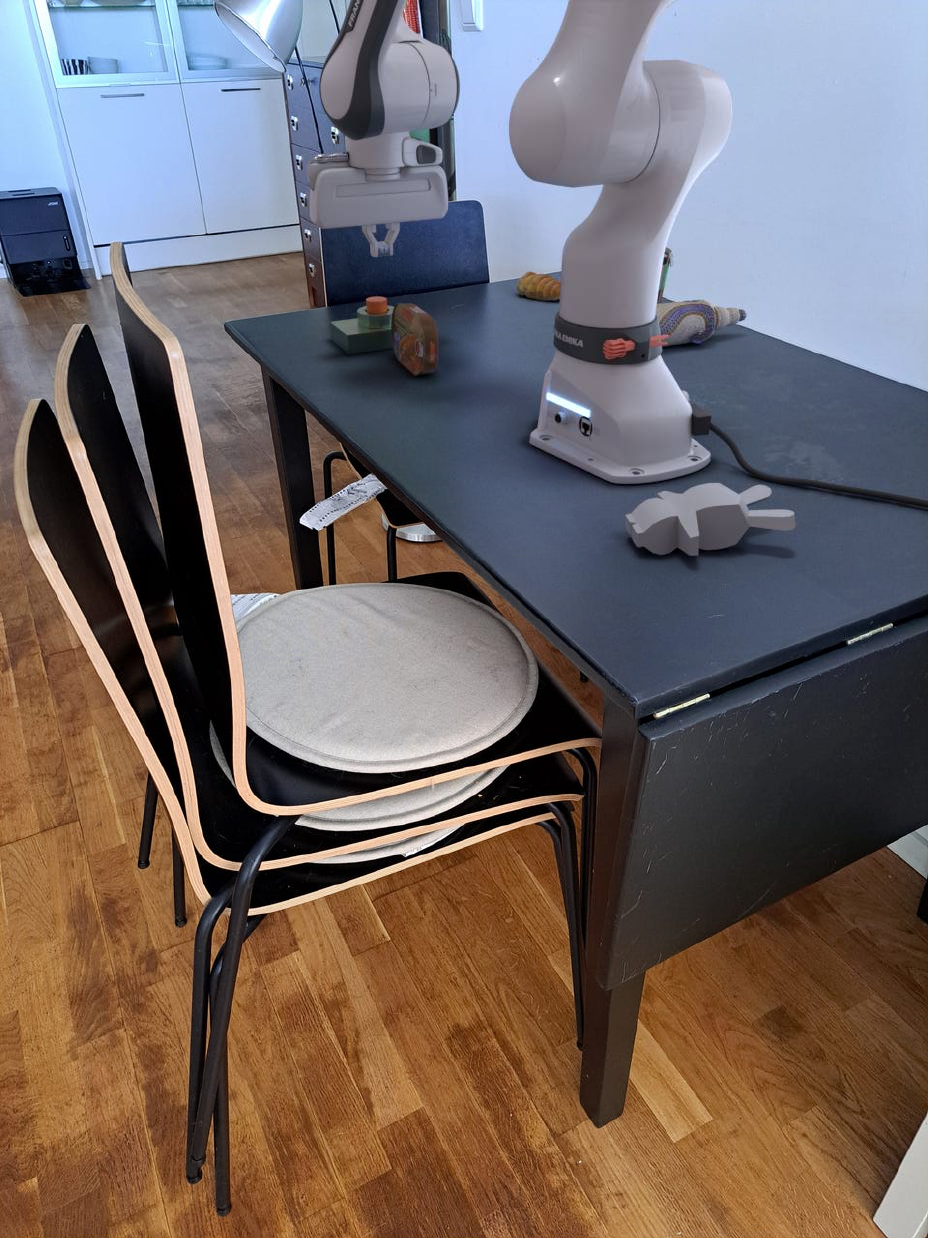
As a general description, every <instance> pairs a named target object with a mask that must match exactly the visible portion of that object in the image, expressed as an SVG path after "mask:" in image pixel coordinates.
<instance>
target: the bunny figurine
mask: <svg viewBox="0 0 928 1238" xmlns="http://www.w3.org/2000/svg"><path fill="white" fill-rule="evenodd" d="M772 492H773V491H772V488H771V487H769V486H767V485H765V484H756V485H753V486H751V487H749V488H747V489H746V490H743V491H742V492H739V493H738V492H735V491H734V490H732V489H730V487H727V486H725V484H722V483H720V482H709V483H702V484H698V485H695V486H692V487H690V488H688V489H686V490H685V491H684V492H683V493H677V492H672V491H668V490H663V491H660V492H657V496H656V497H652V498H647V499H645V500H644V501H642V502H641V503H640V504H638V505H637V507H635V508H634V510H633V511H632V512H631V513H627V514H625V516H624V521H625V523H624V524H625V525H624V526H625V530H626V532H627V533H628V535H629V536H630V537H632V541H633V543H634V545H635V546H636V548H642V547H644V548H645V549H646V550H648V551H649V552H651V553H652V554H655V555H659V556H663V555H668V554H671V552H673V551H674V550H676V549H677V548H678V549H679V550H681V551H682V552H684V553H685V554H687V555H688V556H690V557H692V556H693V557H695V556H696V557H697V556H698V557H699V554H700V553H699V549H700V550H704V551H713V550H715V551H717V550H720V549H725V548H729V547H732V546H735V545H737V544H738V542H739V541H740V540H741V539H742V538H743V536H744V535H745V533H746V532H747V531H748V530H749V529H750V527H751V528H758V529H766V530H775V531H783V532H785V531H786V532H787V531H792V530H794V529H795V528H796V516H795V512H794V511H793V510H790V509H782V508H781V509H779V508H777V509H749V507H751V506H753V505H756V504H759V503H761V502H764V501H767V500H769V499H770V498H771V495H772Z"/></svg>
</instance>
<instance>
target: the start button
mask: <svg viewBox="0 0 928 1238" xmlns="http://www.w3.org/2000/svg"><path fill="white" fill-rule="evenodd" d="M365 303H366V305H365V306H367V312H368V313H385V312H387V305H388V298H387V297H384V296H369V297H367V298H366V299H365Z"/></svg>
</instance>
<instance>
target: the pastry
mask: <svg viewBox="0 0 928 1238" xmlns="http://www.w3.org/2000/svg"><path fill="white" fill-rule="evenodd" d="M560 287H561V281H559V280H558V279H557V278H556V279H555V278H553V277H552V275H549V274H545V273H537V272H534V271H527V272H525V273H524V274H523V275H521V277H520V278H519V280H518V283H517V285H516V291H518V293H519V294H520V295H521V296H526V297H527V298H530V299H535V300H537V301H538V300H540V301H544V302H546V301H557V300H560Z"/></svg>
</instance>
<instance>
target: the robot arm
mask: <svg viewBox="0 0 928 1238" xmlns="http://www.w3.org/2000/svg"><path fill="white" fill-rule="evenodd" d="M677 1H678V0H568V2H567V6H566V8H565V13H564V16H563V18H562V21H561V24H560V26H559V29H558V31H557V34H556V36H555V38H554V40H553V43H552V44H551V46H550V48H549V50H548V52H547V53H546V55H545V57H544V59H543V60H542V61H541V63H540V64H539V65H538V66H537V68H536V69H535V70H534V71H533V72H531V74H530V75H529V76H528V77H527V78H526V79H525V80H524V81H523V82H522V84H521V86H520V87H519V89H518V91H517V92H516V95H515V97H514V99H513V102H512V105H511V108H510V113H509V120H508V138H509V143H510V144H509V145H510V148H511V151H512V155H513V157H514V159H515V161H516V164H517V165H518V167H519V168H520V170H521V171H522V173H523V174H524V175H525V176H526V177H527V178H528V179H530V180H531V181H533V182H536V183H540V184H541V183H542V184H547V185H552V186H559V187H563V188H564V187H565V188H573V189H574V188H575V189H576V188H584V187H594V186H602V188H601V191H600V194H599V196H598V198H597V201H596V202H595V204H594V206H593V208H592V210H591V211H590V213H589V214H588V216H587V217H586V218H585V219H584V220H583V221H582V222H581V223H580V224H577V226H576V227H575V228H574V229H573V230H572V231H571V232H570V233H569V235H568V236H567V238H566V240H565V242H564V245H563V248H562V253H561V254H562V256H561V271H560V283H561V287H560V298H559V308H558V309H559V310H558V311H557V312H556V313H555V315H554V324H553V329H552V333H553V341H552V344H553V346H554V348H555V352H554V355H553V358H552V360H551V362H550V364H549V366H548V368H547V370H546V372H545V374H544V378H543V384H542V392H541V398H540V407H539V413H538V414H539V415H538V423H537V427H536V428H534V430H532V431H531V432H530V435H529V441H528V442H529V444H530V445H532V446H534V447H535V448H538V449H540V450H542V451H544V452H546V453H548V454H550V455H553V456H554V457H556V458H558V459H560V460H563V461H565V462H567V463H569V464H571V465H573V466H575V467H578V468H580V469H582V470H584V471H585V472H587V473H590V474H592V475H595V476H596V477H599V478H601V479H603V480H604V481H607V482H609V483H612V484H619V485H620V484H621V485H631V484H635V485H636V484H637V485H638V484H647V483H655V482H660V481H665V480H666V481H667V480H670V479H676V478H679V477H682V476H685V475H689V474H693V473H696V472H698V471H699V470H701V469H703V468H705V467H707V466H708V465H709V464H710V463H711V461H712V460H711V457H712V454H711V452H710V451H709V450H708V449H706V447H704V445H702V444H701V443H699V442H698V441H697V440H695V439H694V438H693V436H694V437H701V436H708V435H709V434H710V431H711V432H712V433H714V434H715V435H716V436H718V437H719V438H720V439H721V440H722V441H723V442H724V443H725V444H726V445H727V446H728V448H729V449H730V451H731V452H732V454H733V457H735V460H736V462H737V463H738V464H739V466H740V467H741V468H742V470H744V471H745V472H746V473H748V474H750V475H752V476H753V477H755V478H758V479H759V480H762V481H767V482H770V483H776V484H782V485H792V486H802V487H808V488H809V487H810V488H816V489H819V490H825V491H832V492H837V493H842V494H843V493H844V494H849V495H857V496H863V497H869V498H875V499H880V500H885V501H890V502H894V503H895V502H897V503H901V504H906V505H911V506H915V507H921V508H925V509H928V500H926V499H921V498H916V497H912V496H908V495H907V496H906V495H901V494H896V493H890V492H887V491H886V492H885V491H880V490H874V489H869V488H864V487H863V488H862V487H855V486H850V485H843V484H839V483H838V484H837V483H833V482H825V481H821V480H814V479H807V478H800V477H799V478H797V477H786V476H779V475H773V474H769V473H766V472H763V471H760V470H758V469H756V468H755V467H753V466H752V465H750V464H749V463H748V462H747V461H746V460H745V458H744V457H743V454H742V453H741V451H740V449H739V447H738V446H737V444H736V443H735V442H734V440H733V439H732V438H731V437H730V436H729V435H728V434H727V433H726V432H725V431H723V430H722V429H721V428H719V426H717V425H716V424H715V423H713V422H712V414H710V413H709V412H707V411H706V410H705V409H703V408H701V407H700V406H699V405H697V404H695V403H690V401H691V400H690V395H689V393H688V392H687V391H686V390H682V389H681V387H680V386H679V384H678V383H677V381H676V379H675V377H674V376H673V374H672V373H671V371H670V369H669V368H668V366H667V365H666V362H665V361H664V359H663V356H662V353H663V347H662V345H667V344H668V343H667V342H661V340H663V339H665V338H667V337H669V335H668V334H666V335H661V329H660V326H659V319H658V317H657V315H656V307H657V299H658V292H659V284H660V278H661V271H662V265H663V259H664V253H665V249H666V247H667V245H668V241H669V237H670V234H671V232H672V228H673V226H674V223H675V222H676V218H677V216H678V214H679V212H680V210H681V208H682V205H683V204H684V201H685V200H686V197H687V195H688V194H689V192H690V190H691V188H692V187H693V185H694V184H695V182H696V181H697V179H698V177H699V176H700V175H701V173H703V172H704V171H705V169H706V168H707V167H708V166H709V165H710V164H711V163H712V162H713V161H714V160H715V159H716V158H717V157H718V156H719V155H720V154H721V152H722V150H723V149H724V147H725V145H726V143H727V141H728V138H729V135H730V133H731V128H732V123H733V100H732V95H731V91H730V88H729V86H728V84H727V82H726V80H725V79H724V78H723V77H722V75H721V74H720V73H719V72H718V71H716V70H714V69H713V68H712V69H711V68H709V67H706V66H702V65H699V64H696V63H693V62H689V61H686V60H682V59H658V60H657V59H656V60H644V58H645V54H646V49H647V46H648V44H649V40H650V37H651V34H652V33H653V30H654V28H655V27H656V24H657V22H658V20H659V19H660V17H661V16H662V14H663V13H664V12H665V11H666V10H667V9H668V8H669V7H671V6H672V5H674V4H675V3H676V2H677ZM407 3H408V0H350V2H349V5H348V8H347V11H346V13H345V17H344V19H343V22H342V25H341V28H340V30H339V33H338V35H337V37H336V39H335V41H334V43H333V45H332V47H331V48H330V50H329V52H328V54H327V56H326V58H325V60H324V63H323V65H322V68H321V71H320V76H319V85H318V91H319V99H320V104H321V107H322V109H323V111H324V114H325V115H326V116H327V119H328V120H329V121H330V122H331V124H332V125H333V126H334V127H335V129H337V130H338V131H339V132H340V133H341V134H343V136H344V144H345V152H334V153H319V154H316V155H315V157H313V158H311V159H310V160H309V162H308V164H307V166H306V178H307V179H306V180H307V181H306V182H307V185H308V187H309V218H310V220H311V222H312V223H313V224H314V225H315V226H316V227H317V228H319V229H322V230H331V229H341V228H352V227H361V231H362V234H363V235H364V236H365V238H366V239H367V242H368V243H369V247H370V249H369V250H370V256H371V257H373V258H381V257H392V256H393V255H394V244H395V242H396V240H397V237H398V236H399V233H400V230H401V225H400V224H401V223H408V222H418V221H430V220H439V219H440V220H441V219H443V218H444V217H445V216H446V214H447V213H448V210H449V191H448V182H447V175H446V172H445V170H444V169H443V168H442V167H441V166H440V164H442V162H443V155H444V154H443V149H442V148H441V147H439V146H436V145H434V144H432V143H429V142H427V141H423V140H422V139H421V138H418V137H414V136H411V135H410V133H411V132H414V131H425V130H431V129H432V130H433V129H435V128H438V127H441V126H445V125H446V124H447V123H448V122H449V121H450V120H451V119H452V118H453V116H454V114H455V112H456V110H457V107H458V105H459V101H460V93H461V82H460V81H461V80H460V73H459V69H458V66H457V64H456V62H455V60H454V57H453V56H452V54H450V52H449V51H448V50H447V48H446V47H444V46H442V45H441V44H436V43H433V42H431V41H429V40H428V39H426V38H424V37H422V36H421V35H419V34H418V33H417V32H415V31H414V30H413V29H412V28H410V26H409V25H408V24H407V22H406V20H405V18H404V16H403V12H404V10H405V8H406V5H407ZM377 225H385V229H387V232H386V235H385V238H384V240H383V241H382V240H381V241H377V238H376V237H375V235H374V234H375V233H377Z"/></svg>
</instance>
